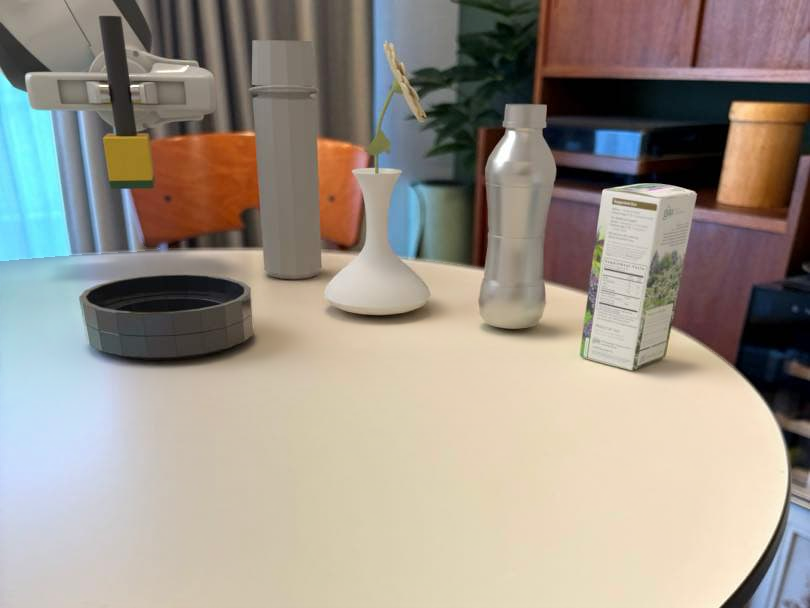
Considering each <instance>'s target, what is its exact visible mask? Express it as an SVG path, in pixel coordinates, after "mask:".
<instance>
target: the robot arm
mask: <svg viewBox="0 0 810 608" xmlns="http://www.w3.org/2000/svg"><path fill="white" fill-rule="evenodd" d="M99 16H121V19H122V26H123V34H124V41H125V49H126V56H127V64H128V71H129V79H130V92H131V94H132V96H131V99H132V103H133V109H134V116H135V124H136V131H137V132H141V131H145V130H147V129H149V128H150V129H154V128H157V127H159V126H163V125H166V124H175V123H187V122H195V121H196V122H197V121H203V119H204V118H205V117H204V116H205V115H210V114H214V113H215V112H216V111H217V109H218V105H217V92H216V91H217V90H216V82H215V81H216V80H215V76H214V74H213V73H212V72H211V71H210V70H209V69H208V70H207V69H206V68H203V67H200V65H199V62H198V61H197V60H189V59H186V58H173V57H165V56H157V55H155V54H152V53H151V52H152V44H153V33H152V31H151V30H150V26H149V25H148V22H147V20H146V18H145V15H144V14H143V12H142V10H141V7H140V6H139V4H138V3H137V1H136V0H0V73H1V74H2V76H3V77H4V78H5V79H6V81H8V82H9V83H10V85H11V86H12V87H13V88H15V89H17V90H18V91H19V90H20V91H22V92H25V93H26V94H27V99H28V102H29V106H30V107H31V109H33V110H36V111H47V112H48V111H49V112H50V111H53V112H55V111H56V112H57V111H62V112H64V111H65V112H67V111H71V112H73V111H74V112H79V111H82V112H83V111H85V112H89V111H90V112H96V113H97V115H99V117H100V118H101V119H102V120H103V121H105V122H106V123H107V124H108V125H110V126H111V127H113V128H115V125H114V118H113V111H112V105H111V96H110V89H109V84H108V77H107V70H106V63H105V56H104V49H103V42H102V35H101V29H100V22H99ZM87 70H88V71H87Z"/></svg>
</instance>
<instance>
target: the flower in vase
mask: <svg viewBox="0 0 810 608" xmlns="http://www.w3.org/2000/svg"><path fill="white" fill-rule="evenodd" d="M383 50H384V53H385V56H386V59H387V62H388V65H389V68H390V70H391V72H392V74H393V77H394V80H393V83H392V87H391V89H390V91H389V93H388V95H387V97H386V100H385V102H384V105H383V107H382V110H381V112H380V114H379V118H378V121H377V126H376V133H375V136H374V138H373V140H372V141H371V142H370V143H369V144H368V145H367V146H366V148H365V153H367V154H369V155H371V156H374V167H364V168H363V167H362V168H361V167H360V168H355V169H352V170H351V173H352V174H353V176H354V178H355V179H356V181H357V182H358V185H359V187H360V190H361V193H362V197H363V202H364V209H365V221H366V224H365V225H366V229H365V230H366V231H365V232H366V233H365V241H364V244H363V248H362V249H361V251H360V252H359V253H358V255H356V257H354V259H352V260H351V261H350V262H349V263H348V264H347V265H345V266H344V267H343V268H342V269H340V271H339V272H338V273H337V274H335V275H334V276H333V278H332V279H331V280H330V281H329V282H328V283H327V285H326V287H325V290H324V293H323V297H324V298H325V299H326V301H327V303H329V304H330V305H331V306H333V307H335V308H337V309H340V310H341V311H344V312H347V313H353V314H359V315H366V316H367V315H369V316H387V315H388V316H389V315H397V314H404V313H408V312H411V311H414V310H417V309H419V308H421V307H423V306H425V305H426V304H427V303H428V302H429V300H430V299H431V295H432V294H431V291H430V288H429V286H428V284H427V283H426V281H424V280H423V278H421V276H420V275H418V274H417V272H415V271H414V270H413V269H412V268H411V267H410V266H408V265H407V263H405V262H404V261H403V260H402V259H401V258H400V257H399V256H397V254H396V253H395V252H394V250H393V249H392V246H391V244H390V238H389V214H390V213H389V212H390V205H391V204H390V203H391V199H392V194H393V191H394V188H395V185H396V183H397V181H398V180H399V178H400V176H401V175H402V173H403V171H402V169H396V168H387V167H379V155H381V154H382V153H383V152H385V153H386V154H388V155H389V154H390V153H391V147H390V146H391V144H392V142H391V140H389V139H388V138H387V136H386V134H385V132H384V131H383V130H382V129H381V128H382V123H383V121H384V117H385V114H386V112H387V110H388V107H389V104H390V102H391V100H392V98H393V96H394V94H395V93H396V94H398V95H402V96H403V97H404V99H405V101H406V103H407V106H408V107H409V109H410V110H411V112H412V114H413V115H414V117H415V118H416V119H417V121H418V122H419V123H425V121H426V120H425V119H426V118H427V114H426V112H425V110H424V109H423V108H422V107H421V105H420V103H419V102H420V96H419V95H418V93H417V91H416V90H415V89H414V87H412V86H411V83H410V81H409V79H408V73H407V69H406V66H405V64H404V63H403V61H399V58H398V54H397V51H396V47H395V46H394V44H393V42H389V43H388V40H387V39H385V41H384V43H383ZM424 118H425V119H424Z"/></svg>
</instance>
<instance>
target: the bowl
mask: <svg viewBox="0 0 810 608" xmlns="http://www.w3.org/2000/svg"><path fill="white" fill-rule="evenodd" d="M78 300H79V305H80V311H81V316H82V321H83V327H84V333H85V336H86V337H85V338H86V340H87V343H88V344H89V346H90V347H92V348H95V349H96V350H98V351H100V352H104V353H109V354H113V355H116V356H120V357H124V358H129V359H134V360H142V361H143V360H144V361H174V360H175V361H177V360H186V359H194V358H199V357H205V356H208V355H214V354H216V353H219V352H223V351H225V350H227V349H229V348H232V347H234V346H237V345H238V344H241V343H243V342H246V341H247V340H248V339H250V338H251V337H252V336H253V335H254V329H255V326H254V312H253V301H252V289H251V286H249V285H247V283H245V282H243V281H241V280H237V279H234V278H231V277H226V276H219V275H212V274H198V273H197V274H196V273H163V274H162V273H161V274H149V275H138V276H132V277H126V278H125V277H124V278H120V279H114V280H110V281H106V282H102V283H100V284H96V285H94V286H92V287H90V288H87V289H85V290H84V291H82V293H81V294H80V296H79V297H78Z"/></svg>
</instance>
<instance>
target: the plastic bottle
mask: <svg viewBox="0 0 810 608" xmlns="http://www.w3.org/2000/svg"><path fill="white" fill-rule="evenodd" d="M547 108H548V107H547V104H538V103H536V104H535V103H506V104H505V107H504V118H503V121H502V127H503V128H505V132H504V135H503V136H502V137H501V139H500V140H499V141H498V142H497V144H496V145H495V146H494V148H493V150H492V152H491V153H490V155H489V156H488V158H487V161H486V165H485V168H484V179H485V190H486V191H485V192H486V203H487V228H488V232H487V248H486V256H485V264H484V271H483V278H482V279H481V280H482V281H481V284H480V288H479V294H478V311H479V315H480V317H481V318H482V320H483V322H484V323H485V324H487V326H491V327H495V328H500V329H507V330H518V329H527V328H532V327H535V326H536V325H538V323H539V322H540V320H541V319H542V318H543V315H544V312H545V308H546V304H547V301H546V300H547V299H546V286H545V285H546V284H545V280H544V273H545V272H544V271H545V270H544V265H545V264H544V262H545V261H544V254H545V253H544V252H545V251H544V249H545V247H544V246H545V245H544V244H545V238H546V234H545V233H546V231H545V230H546V229H547V224H548V223H547V221H548V216H549V215H548V214H549V209H550V205H551V200H552V196H553V191H554V186H555V184H554V183H555V181H556V177H557V165H556V161H555V158H554V155H553V153H552V150H551V148H550V147H549V144H548V143H547V141H546V139H545V138H544V136H543V129H545V128H547V124H548V123H547V121H546V120H547V111H548V110H547Z"/></svg>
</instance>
